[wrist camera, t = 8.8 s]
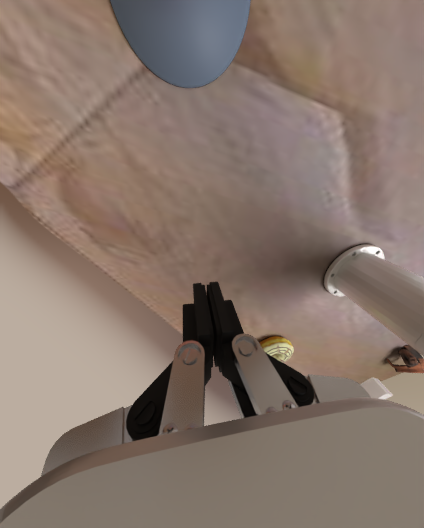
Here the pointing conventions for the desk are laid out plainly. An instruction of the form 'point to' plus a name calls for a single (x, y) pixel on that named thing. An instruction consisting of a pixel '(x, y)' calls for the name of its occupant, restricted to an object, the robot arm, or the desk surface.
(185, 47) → the disc
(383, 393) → the white cube
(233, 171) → the desk surface
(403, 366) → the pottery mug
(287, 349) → the decorated donut
